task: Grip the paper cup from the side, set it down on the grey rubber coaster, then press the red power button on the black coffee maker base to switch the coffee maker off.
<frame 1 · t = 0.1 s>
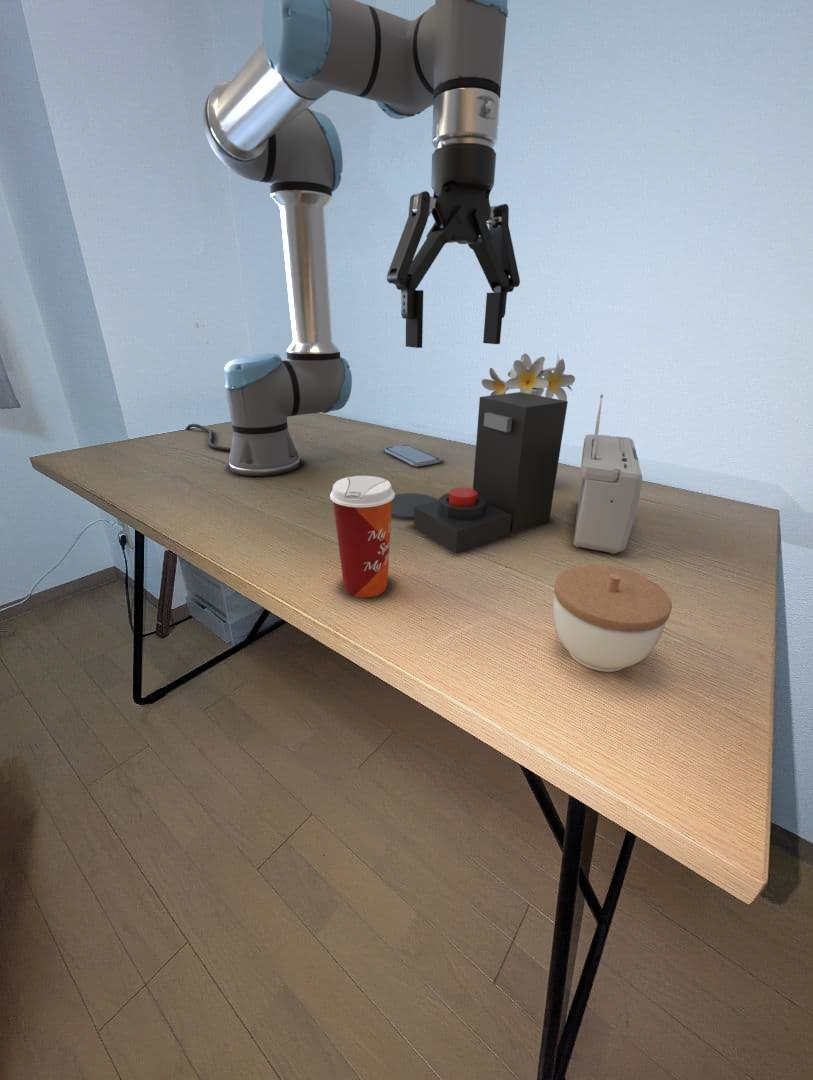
hand: (454, 345, 64), 28 cm above the table, tool pointing down, fingers open, 13 cm apart
coffee button: (462, 497, 74), point 6 cm above the table, slide at 0.1 cm
smartphone: (411, 457, 114), on the table
radio: (595, 528, 78), on the table
coaster: (410, 507, 86), on the table
flower vase: (519, 485, 97), on the table
trinket box: (596, 653, 50), on the table
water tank: (509, 516, 82), on the table
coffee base: (460, 531, 76), on the table
paper cup: (366, 587, 62), on the table
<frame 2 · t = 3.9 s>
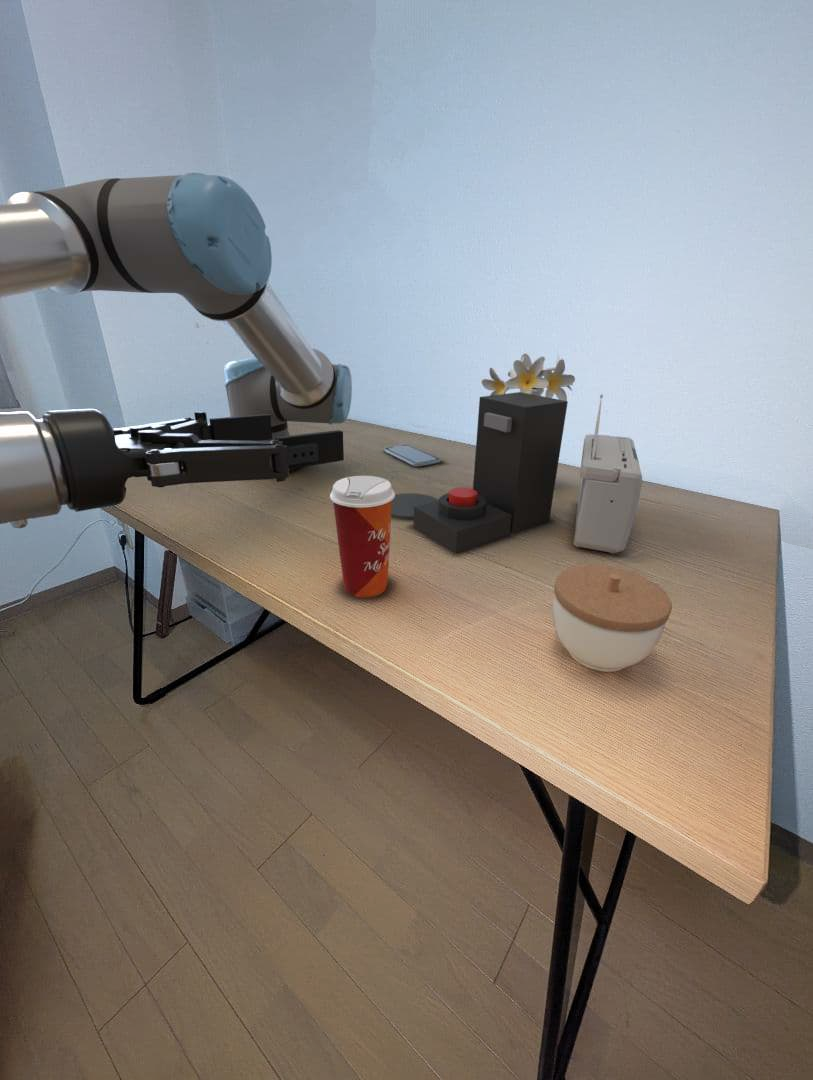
hand: (302, 435, 48), 21 cm above the table, tool horizontal, fingers open, 13 cm apart
nothing on the table moved.
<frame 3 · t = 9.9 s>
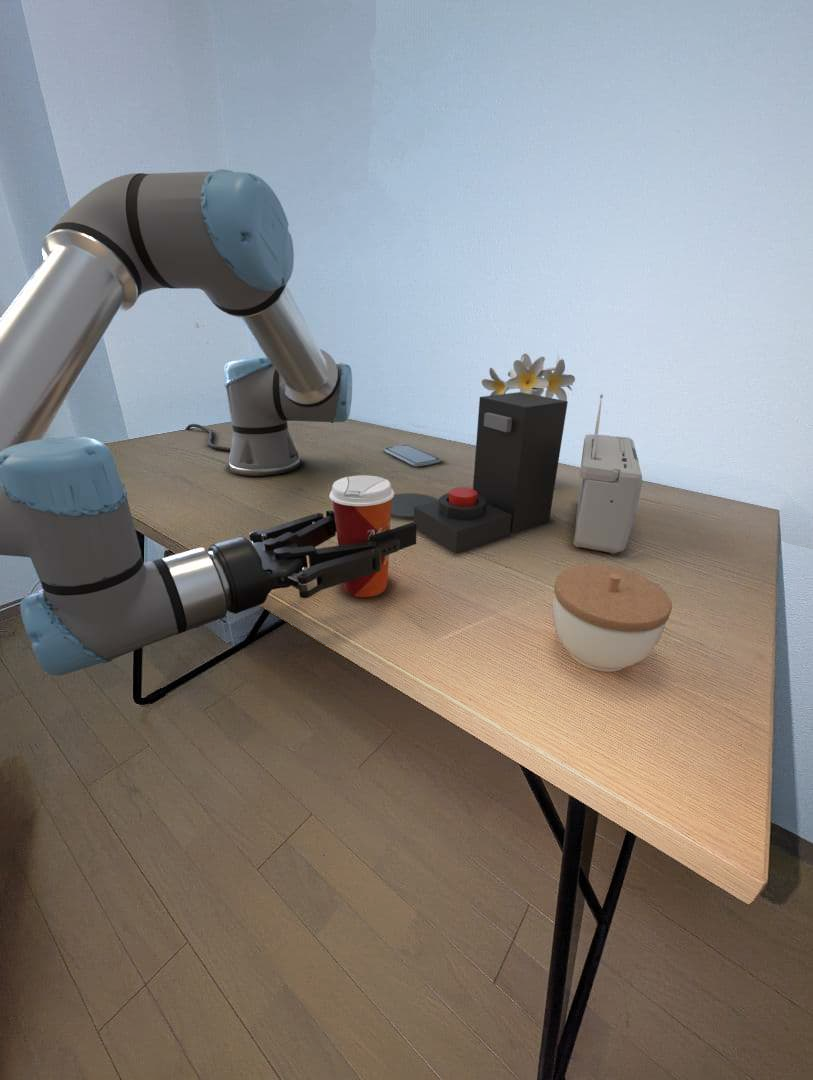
hand: (396, 523, 61), 8 cm above the table, tool horizontal, fingers closed on paper cup, 6 cm apart
paper cup: (366, 586, 62), on the table, touching gripper
everything else where it was.
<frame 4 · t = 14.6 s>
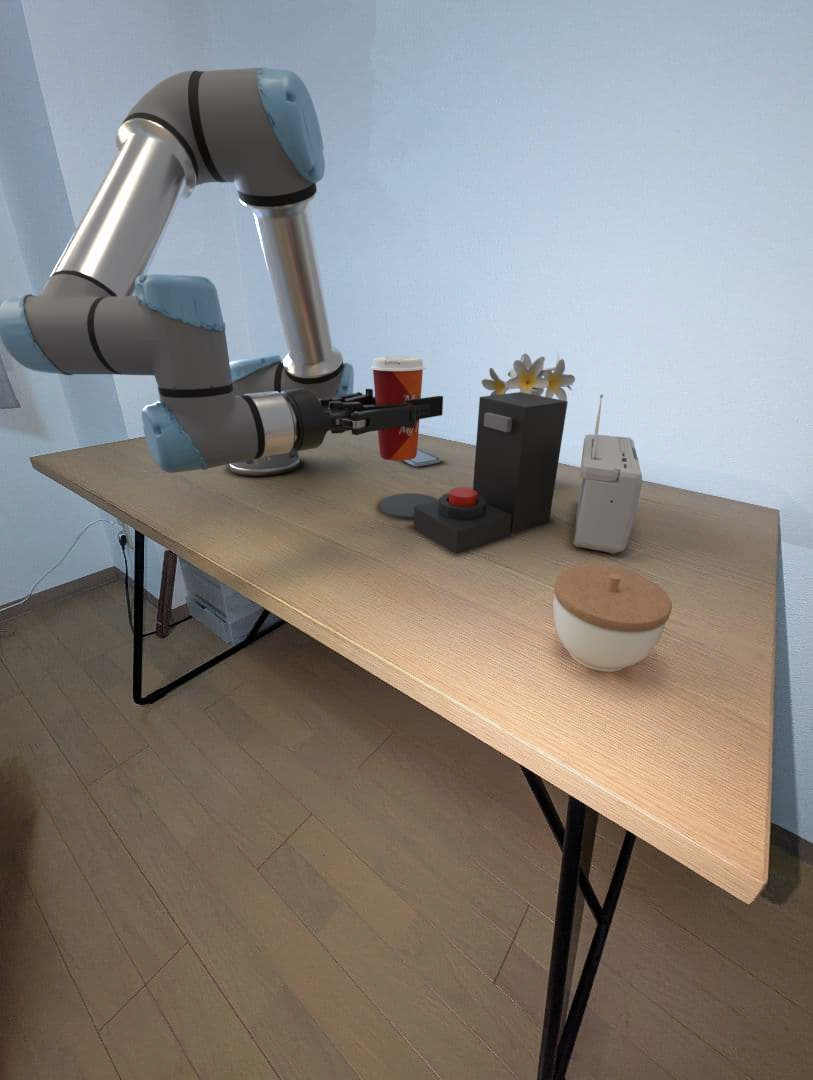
hand: (424, 401, 72), 20 cm above the table, tool horizontal, fingers closed on paper cup, 6 cm apart
paper cup: (398, 456, 72), point 12 cm above the table, touching gripper
everything else where it was.
when the fingers open (8 cm above the table, at t = 19.3 s): paper cup stays where it is, resting on coaster.
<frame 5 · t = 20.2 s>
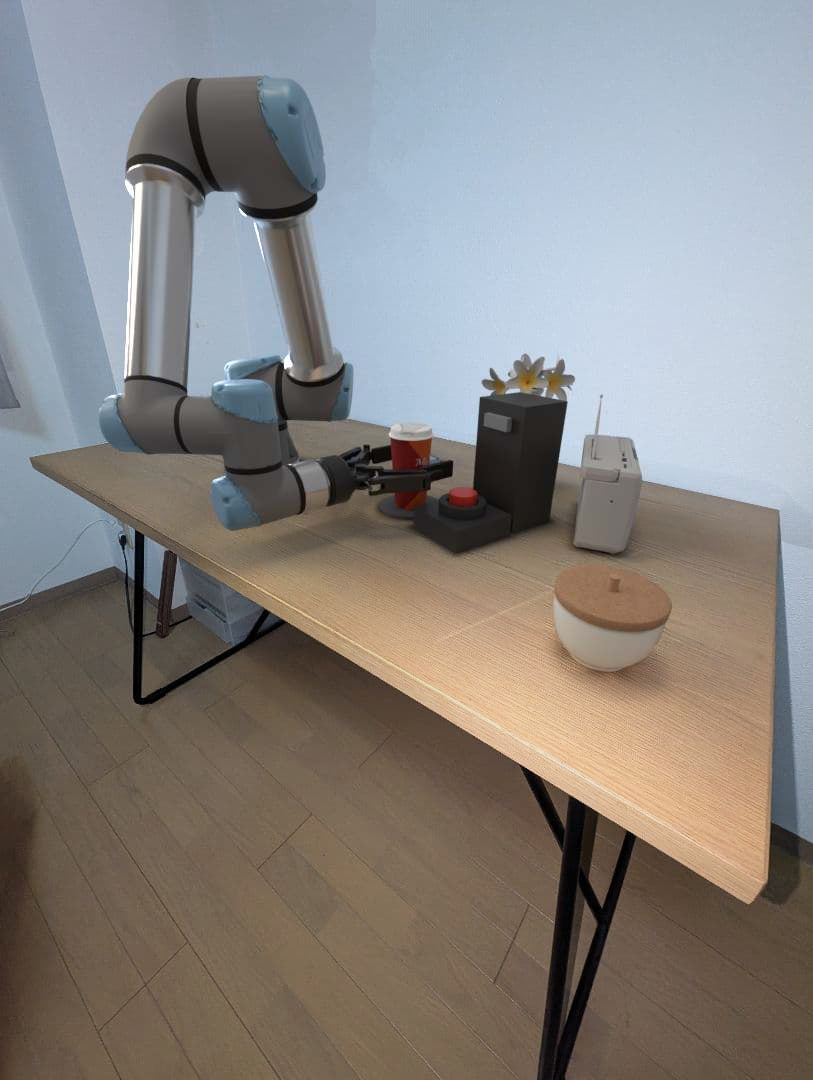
hand: (425, 458, 84), 9 cm above the table, tool horizontal, fingers open, 13 cm apart
paper cup: (410, 505, 85), resting on coaster
everything else where it was.
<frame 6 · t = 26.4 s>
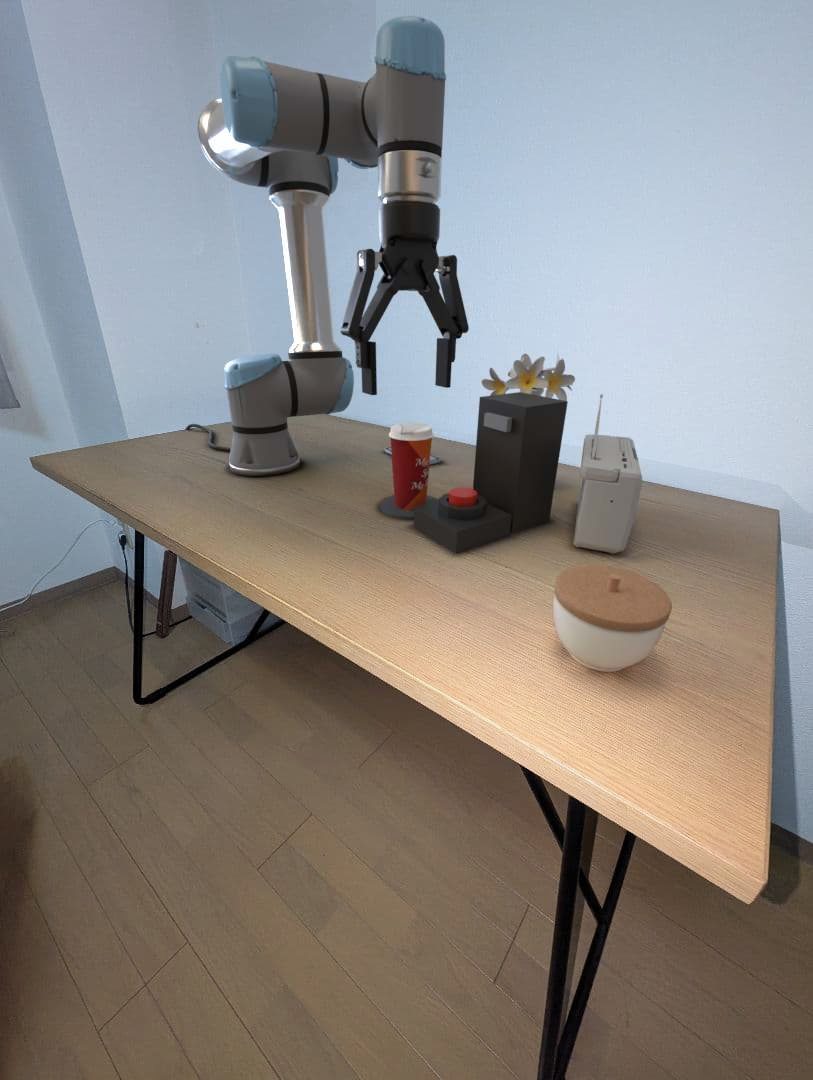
hand: (407, 390, 67), 22 cm above the table, tool pointing down, fingers open, 12 cm apart
nothing on the table moved.
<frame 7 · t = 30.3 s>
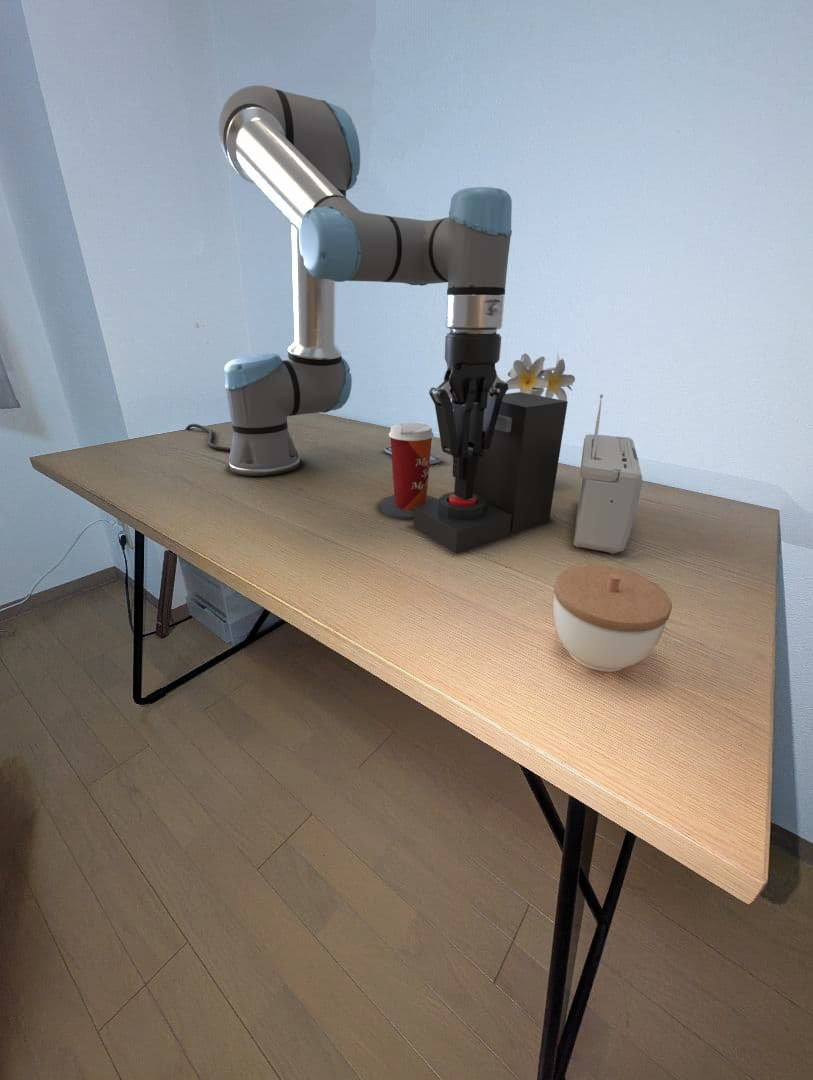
hand: (463, 496, 74), 6 cm above the table, tool pointing down, fingers closed
coffee button: (462, 502, 74), point 5 cm above the table, slide at -0.8 cm, touching gripper
everything else where it was.
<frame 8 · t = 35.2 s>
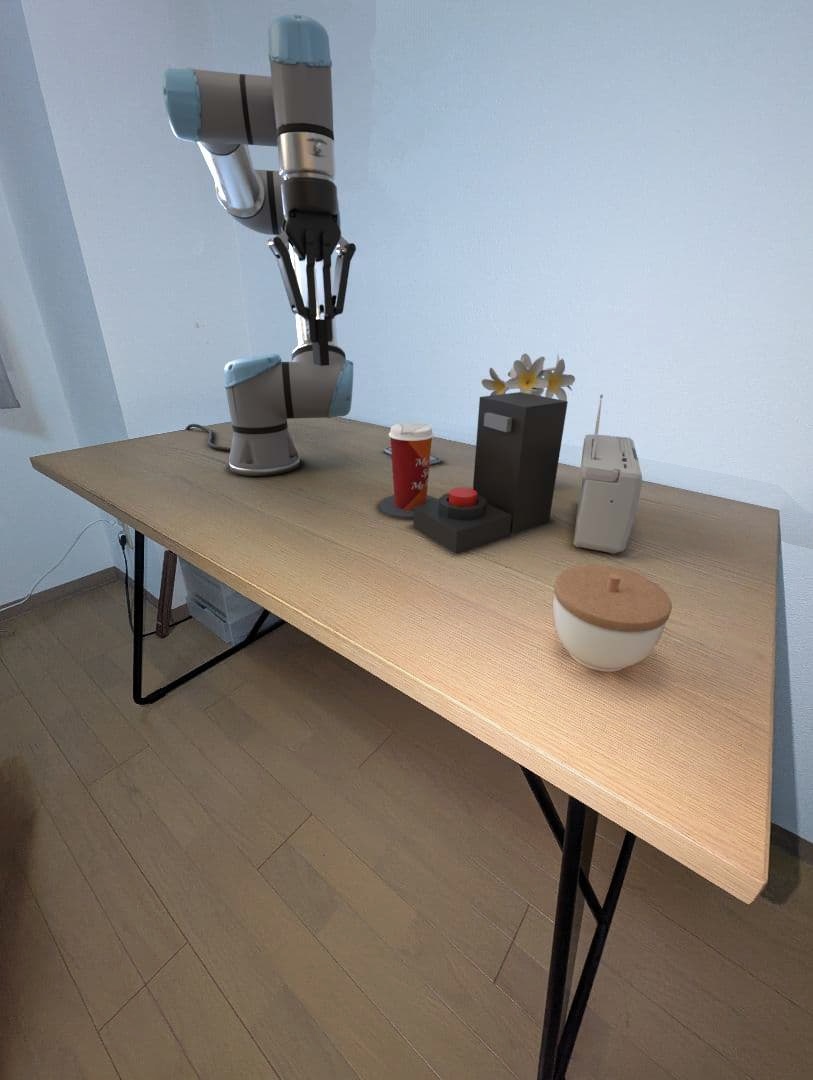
hand: (321, 364, 75), 24 cm above the table, tool pointing down, fingers closed
coffee button: (462, 497, 74), point 6 cm above the table, slide at 0.1 cm
everything else where it was.
at the end: paper cup 0.1 cm off-centre on the coaster, point 0.4 cm above the coaster's base; coffee button pushed in 1.0 cm at the most during the clip, back to where it started at the end; coffee button slide at 0.1 cm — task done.
